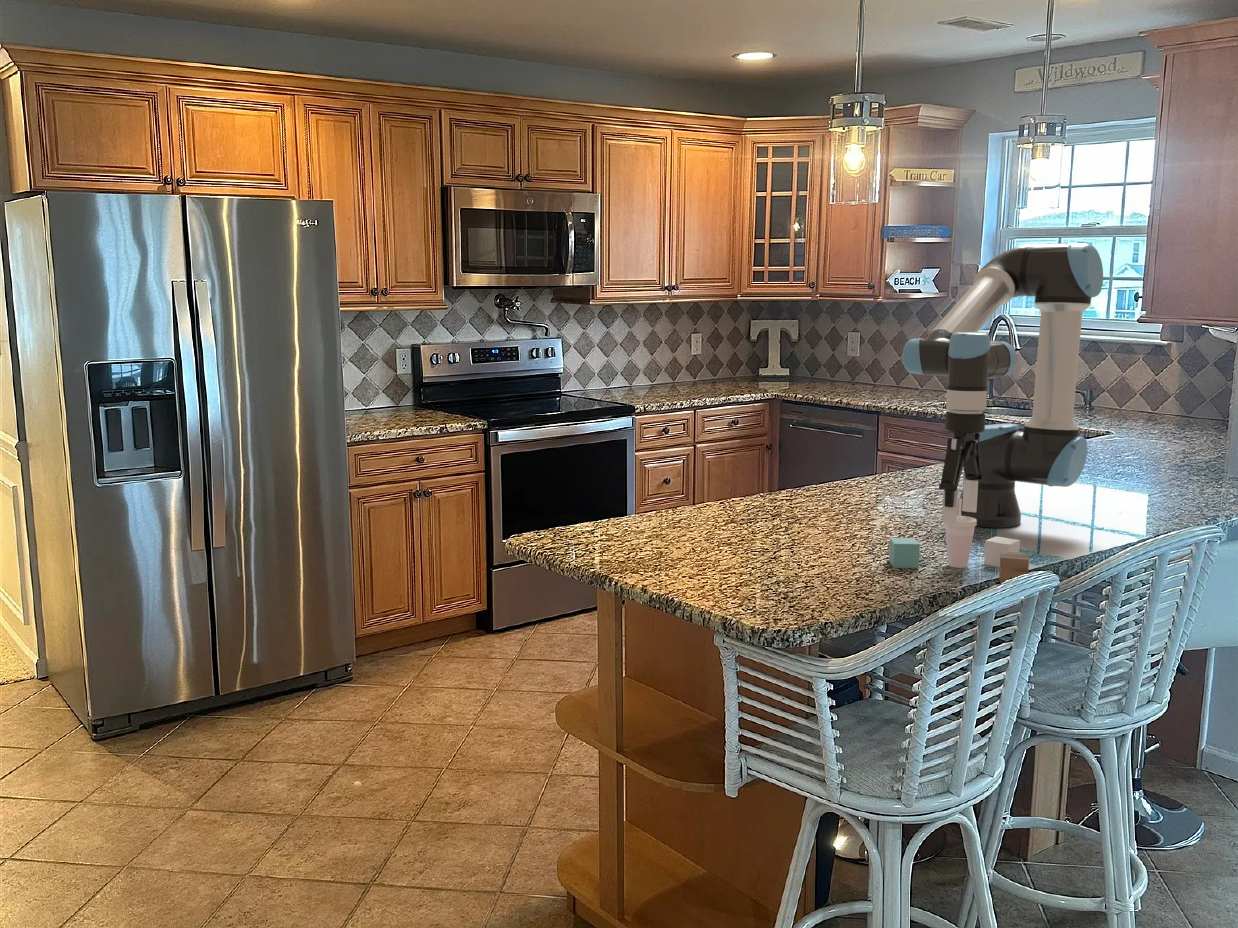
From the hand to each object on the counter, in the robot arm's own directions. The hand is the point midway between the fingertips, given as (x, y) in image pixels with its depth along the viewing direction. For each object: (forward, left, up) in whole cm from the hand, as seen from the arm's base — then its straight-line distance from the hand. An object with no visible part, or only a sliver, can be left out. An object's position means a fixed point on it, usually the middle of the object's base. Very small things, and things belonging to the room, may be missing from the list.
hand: (959, 517), depth 215 cm
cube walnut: (+5, +12, -10) cm, 16 cm away
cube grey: (-6, +7, -10) cm, 14 cm away
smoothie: (0, 0, -10) cm, 10 cm away
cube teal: (+5, -9, -10) cm, 15 cm away
